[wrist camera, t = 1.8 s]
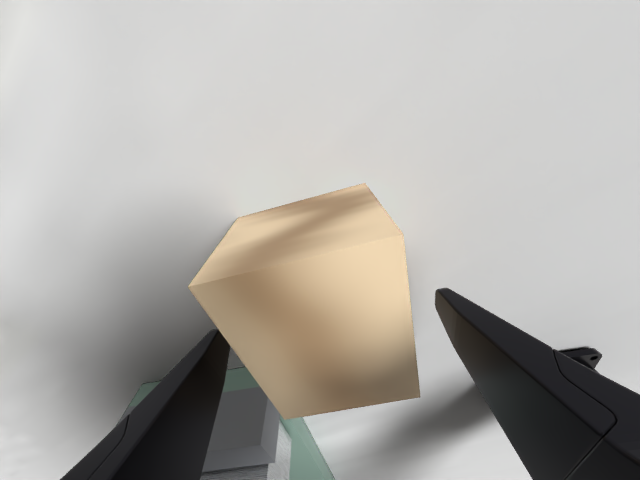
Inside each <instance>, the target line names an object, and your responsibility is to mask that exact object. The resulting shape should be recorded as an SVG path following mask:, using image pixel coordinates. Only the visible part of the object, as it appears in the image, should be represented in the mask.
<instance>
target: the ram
mask: <svg viewBox="0 0 640 480" xmlns="http://www.w3.org/2000/svg"><path fill="white" fill-rule="evenodd" d="M291 441H292V439H291V437H290V435H289V434H288V432H287V431H286V429H285V428H284V426H283V424H282V423H281V421H279V431H278V440H277V449H276V458H275V463H269V464H261V465H253V466H245V467H237V468H229V469H221V470H214V471H206V472H202V474H201V478H200V480H289V472H290V457H291Z"/></svg>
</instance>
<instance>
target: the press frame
mask: <svg viewBox="0 0 640 480" xmlns="http://www.w3.org/2000/svg"><path fill="white" fill-rule="evenodd" d="M160 382H161V381H158V382H151V383H145V384H142V386H141V387H140V389H139V390H138V392H137V394H136V395H135V397H134V398H133V400H132V401H131V403H130V405H129V406H128V408H127V409H126V411H125V413H124V414H123V416H122V417H121V419H120V421H119V422H118V424H119V423H120V422H121V421H122V420H123V419H124V418H125V417H126V416H127V415H128V414H130V412H131V411H132V410H133V409H134V408H135V407H136V406H137V405H138V404H139V403H140V402H141V401H142V400H143V399H144V398H145V397H146V396H147V395H148V394H149V393H150V392H151V391H152V390H153V389H154V388H155V387H156V386H157V385H158V384H159V383H160ZM279 421H281V423H282V424H283V426H284V428H285V429H286V431H287V432H288V434H289V435H290V437H291V439H292V441H291V457H290V472H289V480H335V479H334V477H333V475H332V473H331V471H330V469H329V467H328V465H327V464H326V462H325V460H324V458H323V456H322V454H321V452H320V450H319V448H318V446H317V445H316V443H315V441H314V439H313V437H312V435H311V433H310V431H309V429H308V427H307V426H306V424H305V422H304V420H303V418H302V417H298V418H292V419H286V420H284V419H283V417H282V416H281V414H280V413H279V412H278V410H277V409H276V408H275V406H274V405H273V403H272V402H271V401H270V399H269V398H268V397H267V395H266V394H265V392H264V391H263V390H262V388H261V387H260V386H259V384H258V383H257V382H256V380H255V379H254V377H253V376H252V375H251V373H250V372H249V371H248V369H247V368H246V367H244V368H237V369H231V370H227V371H226V377H225V383H224V387H223V391H222V395H221V399H220V403H219V407H218V411H217V415H216V419H215V423H214V427H213V431H212V435H211V439H210V443H209V446H208V450H207V454H206V458H205V462H204V466H203V470H202V472H206V471H214V470H221V469H229V468H237V467H245V466H253V465H261V464H269V463H275V458H276V449H277V440H278V431H279ZM118 424H117V425H118ZM117 425H116V426H117Z"/></svg>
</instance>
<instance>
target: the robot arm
mask: <svg viewBox="0 0 640 480" xmlns="http://www.w3.org/2000/svg"><path fill="white" fill-rule="evenodd" d="M435 307H436V310H437V312H438V314H439V317H440V319H441V321H442V323H443V325H444V327H445V330H446V332H447V334H448V336H449V338H450V340H451V342H452V344H453V347H454V348H455V350H456V352H457V354H458V355H459V357H460V359H461V360H462V362H463V364H464V365H465V367H466V369H467V370H468V372H469V374H470V375H471V377H472V379H473V380H474V382H475V384H476V385H477V387H478V389H479V390H480V392H481V394H482V395H483V397H484V399H485V400H486V402H487V404H488V405H489V407H490V409H491V410H492V412H493V414H494V415H495V417H496V419H497V421H498V422H499V424H500V426H501V427H502V429H503V431H504V432H505V434H506V436H507V437H508V439H509V441H510V442H511V444H512V446H513V447H514V449H515V451H516V452H517V454H518V456H519V457H520V459H521V461H522V462H523V464H524V466H525V467H526V469H527V471H528V472H529V474H530V476H531V477H532V479H533V480H640V394H638V393H636V392H634V391H632V390H630V389H628V388H626V387H624V386H622V385H620V384H618V383H616V382H614V381H612V380H610V379H608V378H606V377H604V376H602V375H601V374H599V373H598V372H597V371H596V370H595V369H594V368H595V367H596V365H597V364H598V362H599V360H600V359H601V357H602V354H601V353H599V352H598V351H597V350H596V349H594V348H589V349H583V350H576V351H569V352H563V353H561V352H559V351H557V350H555V349H552V348H551V347H550V346H548V345H546V344H545V343H543V342H541V341H539V340H538V339H536V338H534V337H533V336H531V335H529V334H527V333H526V332H524V331H522V330H520V329H519V328H517V327H515V326H513V325H512V324H510V323H508V322H506V321H505V320H503V319H501V318H499V317H498V316H496V315H494V314H492V313H491V312H489V311H487V310H485V309H484V308H482V307H480V306H478V305H477V304H475V303H473V302H471V301H470V300H468V299H466V298H464V297H463V296H461V295H459V294H457V293H456V292H454V291H452V290H450V289H449V288H442V289H437V290H436V293H435ZM229 351H230V345H229V343H228V342H227V340H226V339H225V338H224V336H223V335H222V334H221V332H220V331H219V329H214V330H211V331H210V332H209V333H208V334H207V335H206V336H205V337H204V338H203V339H202V340H201V341H200V342H199V343H198V344H197V345H196V346H195V347H194V348H193V349H192V350H191V351H190V352H189V353H188V354H187V355H186V356H185V357H184V358H183V359H182V360H181V361H180V362H179V363H178V364H177V365H176V366H175V367H174V368H173V369H172V370H171V371H170V372H169V373H168V375H167V376H166V377H165V378H164V379H163V380H162V381H161V382H160V383H159V384H158V385H157V386H156V387H155V388H154V389H153V390H152V391H151V392H150V393H149V394H148V395H147V396H146V397H145V398H144V399H143V400H142V401H141V402H140V403H139V404H138V405H137V406H136V407H135V408H134V409H133V410H132V411H131V412H130V414H128V415H127V416H126V417H125V418H124V419H123V420H122V421H121V422H120V423H119V424H118V425H117V426H116V427H115V428H114V429H113V430H112V431H111V432H110V433H109V434H108V435H107V436H106V437H105V438H104V439H103V440H102V441H101V442H100V443H99V444H98V445H97V446H96V447H95V448H93V449H92V450H91V451H90V452H89V453H88V454H87V455H86V456H85V457H84V458H83V459H82V460H81V461H80V462H79V463H78V464H76V465H75V466H74V467H73V468H72V469H71V470H70V471H69V472H68V473H67V474H66V475H65V476H63V477H62V478H61V479H60V480H200V478H201V474H202V470H203V466H204V462H205V458H206V454H207V450H208V446H209V443H210V439H211V435H212V431H213V427H214V423H215V419H216V415H217V411H218V407H219V403H220V399H221V395H222V391H223V387H224V383H225V377H226V371H227V364H228V358H229Z"/></svg>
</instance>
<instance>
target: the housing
mask: <svg viewBox="0 0 640 480" xmlns="http://www.w3.org/2000/svg"><path fill="white" fill-rule="evenodd" d="M188 288H189V290H190V291H191V292H192V294H193V295H194V297H195V298H196V299H197V301H198V302H199V303H200V305H201V306H202V308H203V309H204V310H205V312H206V313H207V314H208V316H209V317H210V318H211V320H212V321H213V323H214V324H215V325H216V327H217V328H218V329H219V331H220V332H221V334H222V335H223V336H224V338H225V339H226V340H227V342H228V343H229V345H230V346H231V347H232V349H233V350H234V351H235V353H236V354H237V355H238V357H239V358H240V360H241V361H242V362H243V364H244V365H245V366H246V368H247V369H248V371H249V372H250V373H251V375H252V376H253V377H254V379H255V380H256V382H257V383H258V384H259V386H260V387H261V388H262V390H263V391H264V392H265V394H266V395H267V397H268V398H269V399H270V401H271V402H272V403H273V405H274V406H275V408H276V409H277V410H278V412H279V413H280V414H281V416H282V417H283V419H284V420H286V419H292V418H298V417H304V416H310V415H316V414H322V413H328V412H334V411H340V410H346V409H352V408H358V407H364V406H370V405H376V404H382V403H388V402H394V401H400V400H406V399H412V398H418V397H420V389H419V379H418V370H417V360H416V351H415V341H414V331H413V322H412V312H411V303H410V293H409V284H408V274H407V264H406V255H405V245H404V236H403V233H402V232H401V230H400V229H399V228H398V226H397V225H396V224H395V222H394V221H393V220H392V218H391V217H390V216H389V214H388V213H387V212H386V210H385V209H384V208H383V206H382V205H381V204H380V202H379V201H378V200H377V198H376V197H375V196H374V194H373V193H372V192H371V190H370V189H369V188H368V186H367V185H366V184H365V183H363V184H359V185H356V186H352V187H348V188H345V189H341V190H337V191H334V192H330V193H326V194H323V195H319V196H315V197H312V198H308V199H304V200H301V201H297V202H293V203H290V204H286V205H283V206H279V207H275V208H272V209H268V210H264V211H261V212H257V213H253V214H250V215H246V216H242V217H239V218H237V220H236V221H235V222H234V224H233V225H232V226H231V228H230V229H229V231H228V232H227V233H226V235H225V236H224V237H223V239H222V240H221V242H220V243H219V244H218V246H217V247H216V248H215V250H214V251H213V253H212V254H211V255H210V257H209V258H208V259H207V261H206V262H205V264H204V265H203V266H202V268H201V269H200V270H199V272H198V273H197V275H196V276H195V277H194V279H193V280H192V281H191V283H190V284H189V286H188Z"/></svg>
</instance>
